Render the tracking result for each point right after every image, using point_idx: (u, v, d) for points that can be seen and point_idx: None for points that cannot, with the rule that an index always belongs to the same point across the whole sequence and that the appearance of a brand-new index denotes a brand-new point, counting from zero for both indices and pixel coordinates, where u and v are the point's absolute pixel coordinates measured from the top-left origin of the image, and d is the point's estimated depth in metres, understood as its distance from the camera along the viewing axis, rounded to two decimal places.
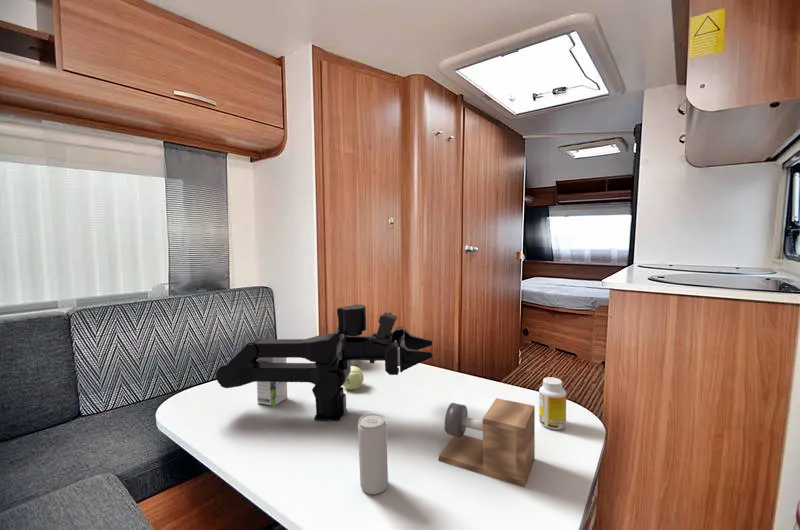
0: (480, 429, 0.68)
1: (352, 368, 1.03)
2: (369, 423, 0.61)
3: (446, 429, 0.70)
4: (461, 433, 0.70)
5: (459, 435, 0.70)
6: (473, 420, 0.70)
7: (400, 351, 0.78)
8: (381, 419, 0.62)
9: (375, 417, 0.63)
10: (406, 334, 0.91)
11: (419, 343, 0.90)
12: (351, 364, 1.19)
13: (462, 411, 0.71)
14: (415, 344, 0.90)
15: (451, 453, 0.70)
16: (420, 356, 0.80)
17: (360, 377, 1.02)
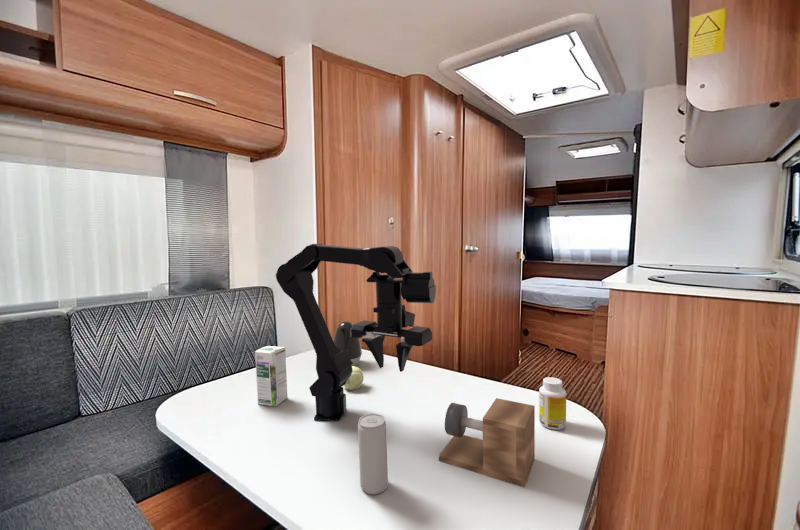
0: (480, 429, 0.68)
1: (352, 368, 1.03)
2: (369, 423, 0.61)
3: (446, 429, 0.70)
4: (461, 433, 0.70)
5: (459, 435, 0.70)
6: (473, 420, 0.70)
7: None
8: (381, 419, 0.62)
9: (375, 417, 0.63)
10: (383, 337, 0.85)
11: (380, 354, 0.83)
12: None
13: (462, 411, 0.71)
14: (379, 350, 0.83)
15: (451, 453, 0.70)
16: (404, 360, 0.80)
17: (360, 377, 1.02)
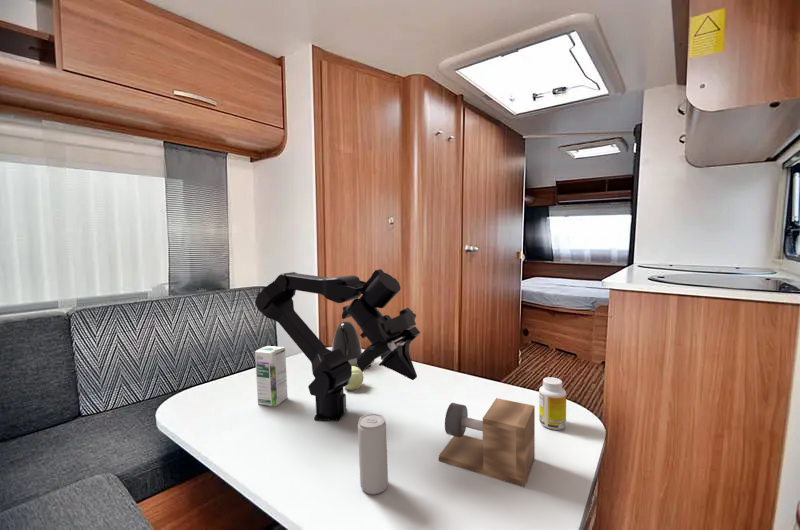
0: (480, 429, 0.68)
1: (352, 368, 1.03)
2: (369, 423, 0.61)
3: (446, 429, 0.70)
4: (461, 433, 0.70)
5: (459, 435, 0.70)
6: (473, 420, 0.70)
7: (392, 352, 0.74)
8: (381, 419, 0.62)
9: (375, 417, 0.63)
10: (403, 347, 0.77)
11: None
12: (351, 364, 1.19)
13: (462, 411, 0.71)
14: None
15: (451, 453, 0.70)
16: (404, 370, 0.76)
17: (360, 377, 1.02)
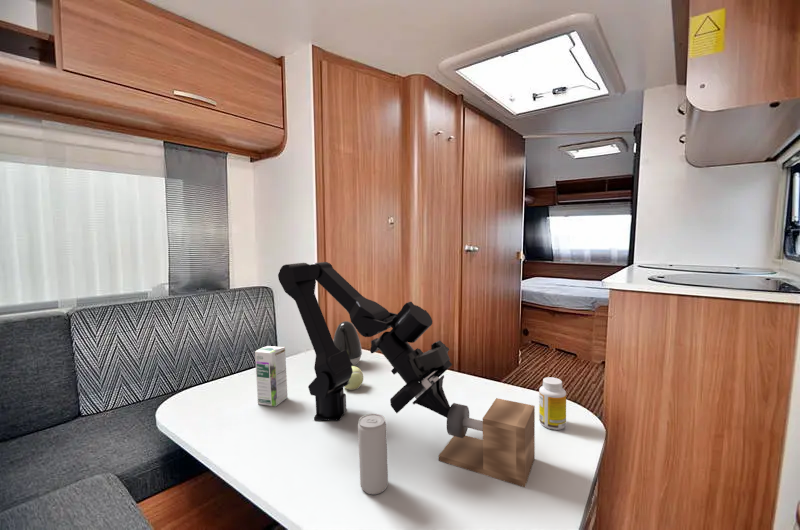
0: (482, 429, 0.68)
1: (352, 368, 1.03)
2: (369, 423, 0.61)
3: (448, 429, 0.69)
4: (463, 433, 0.70)
5: (461, 435, 0.69)
6: (475, 420, 0.69)
7: (426, 391, 0.70)
8: (381, 419, 0.62)
9: (375, 417, 0.63)
10: (437, 383, 0.74)
11: None
12: None
13: (464, 411, 0.71)
14: None
15: (451, 453, 0.70)
16: (440, 408, 0.72)
17: (360, 377, 1.02)
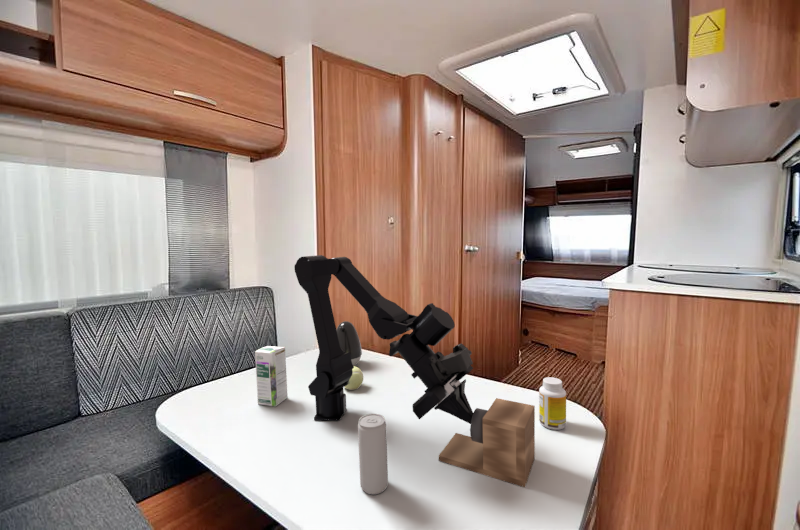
0: None
1: None
2: (369, 423, 0.61)
3: (472, 436, 0.67)
4: None
5: None
6: None
7: (449, 396, 0.68)
8: (381, 419, 0.62)
9: (375, 417, 0.63)
10: (459, 388, 0.71)
11: None
12: None
13: None
14: None
15: (451, 453, 0.70)
16: (462, 414, 0.70)
17: (360, 377, 1.02)
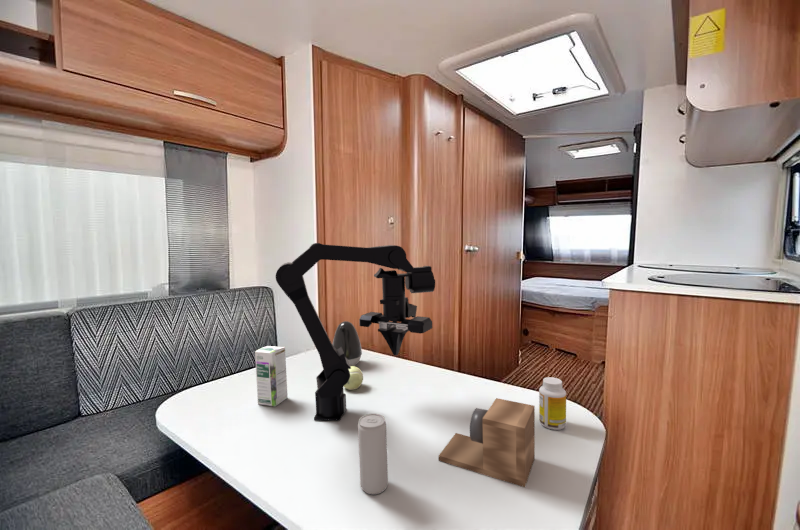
0: None
1: (352, 368, 1.03)
2: (369, 423, 0.61)
3: (471, 436, 0.67)
4: None
5: None
6: None
7: None
8: (381, 419, 0.62)
9: (375, 417, 0.63)
10: None
11: None
12: (351, 364, 1.19)
13: None
14: None
15: (451, 453, 0.70)
16: (399, 345, 0.91)
17: (360, 377, 1.02)
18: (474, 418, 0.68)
